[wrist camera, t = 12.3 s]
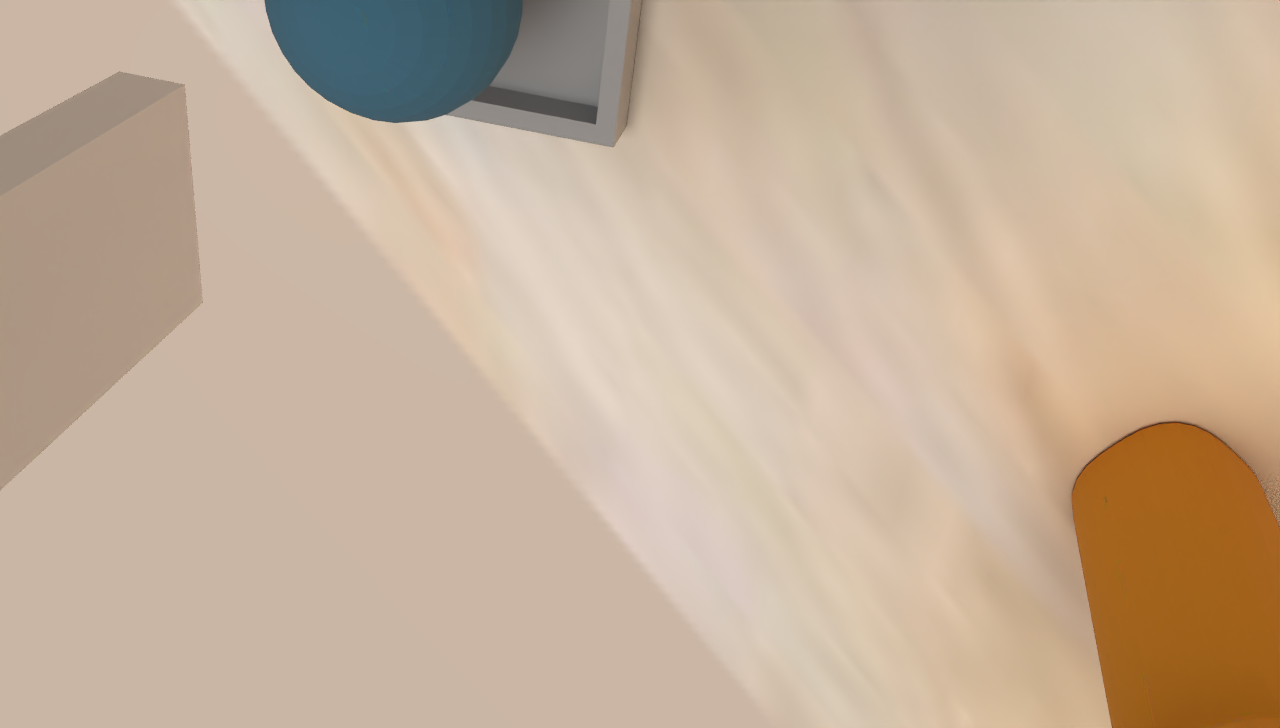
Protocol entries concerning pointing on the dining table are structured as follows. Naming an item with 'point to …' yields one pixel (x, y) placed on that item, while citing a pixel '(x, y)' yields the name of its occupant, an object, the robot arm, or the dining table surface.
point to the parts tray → (565, 71)
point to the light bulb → (396, 51)
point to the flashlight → (1181, 582)
